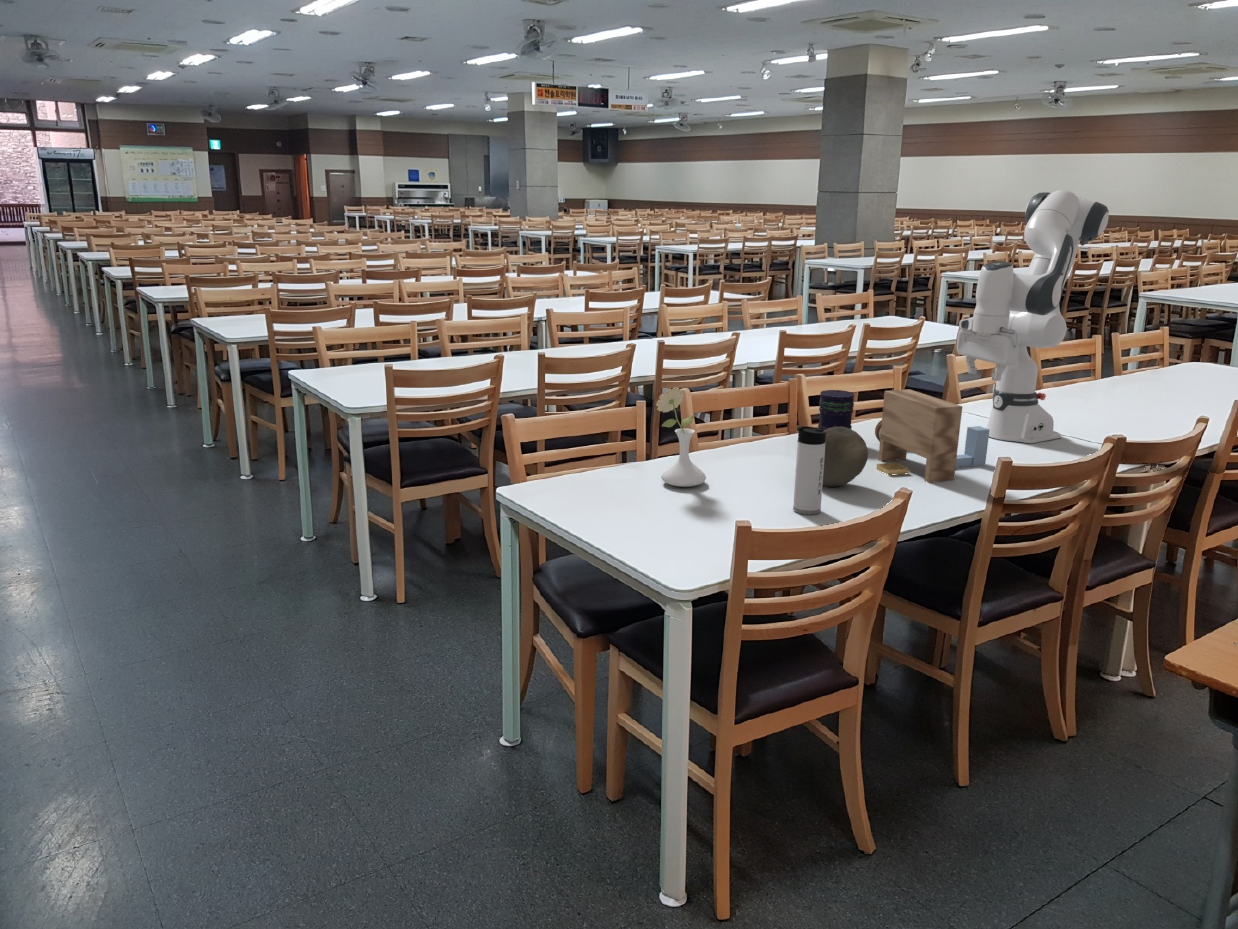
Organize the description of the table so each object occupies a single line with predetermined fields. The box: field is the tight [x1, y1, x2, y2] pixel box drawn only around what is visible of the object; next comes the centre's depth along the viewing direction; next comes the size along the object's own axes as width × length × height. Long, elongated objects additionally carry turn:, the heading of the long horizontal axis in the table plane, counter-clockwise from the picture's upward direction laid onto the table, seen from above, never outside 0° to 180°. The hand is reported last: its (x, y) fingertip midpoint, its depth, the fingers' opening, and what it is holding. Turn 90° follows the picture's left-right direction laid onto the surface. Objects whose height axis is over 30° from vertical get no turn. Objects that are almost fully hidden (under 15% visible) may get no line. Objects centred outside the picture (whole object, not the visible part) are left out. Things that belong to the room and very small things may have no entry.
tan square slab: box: [875, 462, 910, 475], centre depth 246 cm, size 6×6×2 cm
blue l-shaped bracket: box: [955, 425, 990, 468], centre depth 251 cm, size 16×4×10 cm, turn 109°
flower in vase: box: [655, 386, 707, 488], centre depth 230 cm, size 13×11×25 cm
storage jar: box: [817, 389, 855, 431], centre depth 272 cm, size 10×10×15 cm
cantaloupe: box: [822, 427, 869, 488], centre depth 232 cm, size 14×14×15 cm
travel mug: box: [792, 425, 826, 516], centre depth 212 cm, size 6×7×20 cm
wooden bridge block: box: [877, 389, 963, 483], centre depth 245 cm, size 8×22×20 cm, turn 19°
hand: (983, 377), depth 247 cm, fingers open, 8 cm apart
